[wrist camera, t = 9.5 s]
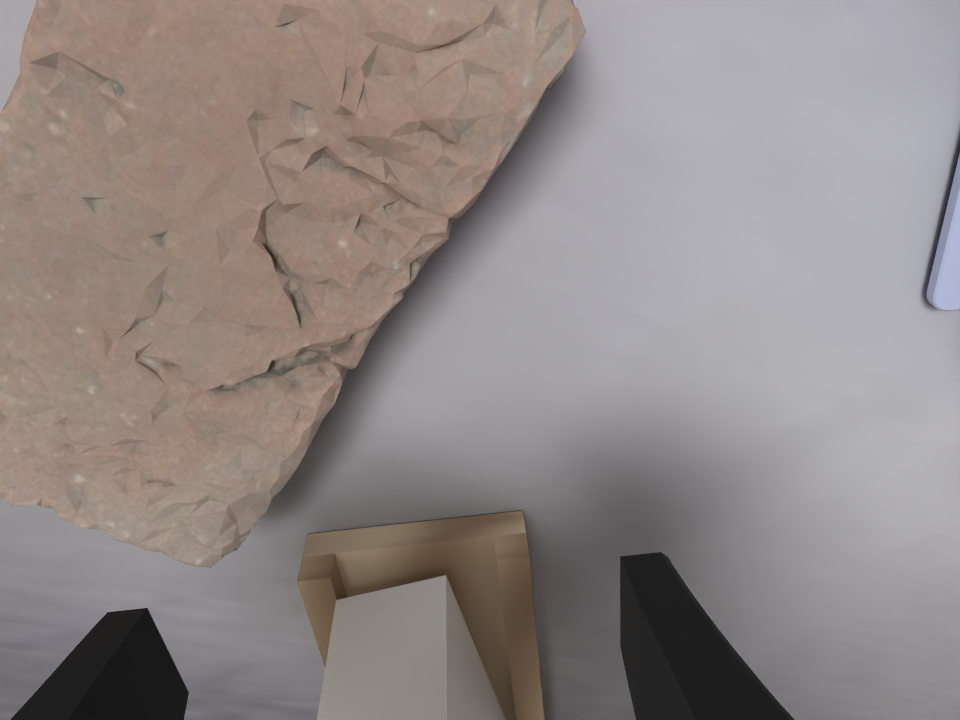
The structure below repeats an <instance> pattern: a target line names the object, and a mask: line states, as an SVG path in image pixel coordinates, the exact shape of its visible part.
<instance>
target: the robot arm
mask: <svg viewBox="0 0 960 720" xmlns="http://www.w3.org/2000/svg"><path fill="white" fill-rule="evenodd" d="M927 299H928V301H929V303H930V304H932V305H933V306H934V307H936V308H938V309H939V310H942V311H951V310H960V154H959V158H958V163H957V167H956V171H955V175H954V179H953V184H952V188H951V192H950V196H949V200H948V205H947V209H946V213H945V217H944V221H943V226H942V230H941V234H940V238H939V242H938V247H937V251H936V255H935V259H934V263H933V268H932V272H931V276H930V280H929V284H928V289H927ZM620 609H621V651H622V656H623V660H624V665H625V670H626V675H627V680H628V684H629V689H630V694H631V698H632V703H633V707H634V712H635V716H636V719H637V720H794V719H793V718H792V717H791V716H790V714H789V713H788V712H787V711H786V710H785V709H784V708H783V707H782V706H781V704H780V703H779V702H778V701H777V700H776V699H775V698H774V696H773V695H772V694H771V693H770V692H769V691H768V689H767V688H766V687H765V686H764V685H763V684H762V682H761V681H760V680H759V679H758V678H757V676H756V675H755V674H754V673H753V672H752V670H751V669H750V668H749V667H748V665H747V664H746V663H745V662H744V661H743V659H742V658H741V657H740V656H739V655H738V653H737V652H736V651H735V650H734V648H733V647H732V646H731V645H730V643H729V642H728V641H727V640H726V638H725V637H724V636H723V635H722V633H721V632H720V631H719V629H718V628H717V627H716V625H715V624H714V623H713V621H712V620H711V619H710V617H709V616H708V615H707V613H706V612H705V611H704V609H703V608H702V607H701V605H700V604H699V603H698V601H697V600H696V598H695V597H694V596H693V594H692V593H691V591H690V590H689V589H688V587H687V586H686V584H685V583H684V581H683V580H682V578H681V577H680V575H679V574H678V572H677V571H676V569H675V568H674V566H673V565H672V563H671V562H670V560H669V558H668V557H667V556H665V555H664V554H663V553H661V552H658V553H649V554H640V555H631V556H622V557H620ZM188 694H189V692H188V690H187V688H186V686H185V684H184V682H183V680H182V678H181V676H180V674H179V672H178V670H177V668H176V666H175V664H174V662H173V660H172V657H171V655H170V653H169V651H168V649H167V647H166V645H165V643H164V641H163V639H162V637H161V635H160V633H159V631H158V629H157V627H156V625H155V623H154V621H153V619H152V617H151V615H150V613H149V611H148V609H147V608H143V609H134V610H125V611H116V612H108V613H107V614H106V615H105V616H104V617H103V618H102V619H101V620H100V621H99V622H98V623H97V624H96V625H95V626H94V628H93V629H92V630H91V631H90V632H89V633H88V634H87V635H86V636H85V637H84V639H83V640H82V641H81V642H80V643H79V644H78V645H77V646H76V648H75V649H74V650H73V651H72V652H71V653H70V654H69V655H68V656H67V658H66V659H65V660H64V661H63V662H62V663H61V664H60V665H59V667H58V668H57V669H56V670H55V671H54V672H53V673H52V674H51V676H50V677H49V678H48V679H47V680H46V681H45V682H44V683H43V685H42V686H41V687H40V688H39V689H38V690H37V691H36V692H35V693H34V695H33V696H32V697H31V698H30V699H29V700H28V701H27V702H26V703H25V704H24V706H23V707H22V708H21V709H20V710H19V711H18V712H17V713H16V714H15V715H14V717H13V718H12V719H11V720H184V715H185V710H186V704H187V699H188Z"/></svg>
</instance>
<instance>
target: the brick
mask: <svg viewBox="0 0 960 720" xmlns="http://www.w3.org/2000/svg"><path fill="white" fill-rule="evenodd" d="M585 32H586V31H585V28H584V25H583V22H582V19H581V16H580V14H579V11H578V8H577V7H576V6H575V5H574V3H573V0H37V1H36V6H35V8H34V11H33V14H32V16H31V19H30V22H29V24H28V27H27V30H26V32H25V35H24V40H23V46H22V51H21V57H20V75H19V77H18V79H17V81H16V83H15V85H14V87H13V90H12V92H11V94H10V96H9V98H8V100H7V102H6V104H5V106H4V108H3V110H2V112H1V114H0V497H1V498H3V499H5V500H6V501H7V502H8V503H10V504H11V505H29V504H37V505H40V506H43V507H47V508H51V509H53V510H54V511H55V512H56V513H57V515H58V516H59V517H60V518H62V519H64V520H66V521H69V522H71V523H73V524H75V525H78V526H80V527H82V528H91V529H100V530H104V531H108V532H109V533H110V534H111V535H112V536H113V537H114V538H115V539H116V540H118V541H122V542H125V543H129V544H132V545H134V546H137V547H139V548H142V549H144V550H147V551H155V552H161V553H163V554H165V555H167V556H170V557H172V558H174V559H176V560H178V561H180V562H182V563H184V564H187V565H195V566H202V567H210V568H211V567H212V566H213V565H214V564H216V563H217V562H218V561H219V560H220V559H221V558H222V557H223V556H225V555H227V554H229V553H231V552H233V551H235V550H237V549H238V548H239V547H240V545H241V544H242V543H243V541H244V540H245V539H246V537H247V536H248V534H249V532H250V530H251V528H252V527H253V525H254V524H255V523H256V522H257V520H258V519H259V518H260V517H261V516H262V515H263V514H264V513H265V512H266V511H267V510H268V509H269V507H270V505H271V503H272V501H273V499H274V497H275V496H276V495H277V494H278V493H279V492H280V491H281V490H282V489H283V487H284V486H285V485H286V483H287V482H288V481H289V479H290V478H291V476H292V475H293V474H294V472H295V471H296V470H297V468H298V466H299V464H300V463H301V461H302V459H303V457H304V456H305V454H306V452H307V450H308V448H309V447H310V445H311V443H312V441H313V439H314V437H315V435H316V433H317V431H318V429H319V427H320V425H321V423H322V421H323V419H324V418H325V417H326V415H327V414H328V412H329V411H330V410H331V408H332V407H333V406H334V405H335V403H336V400H337V397H338V395H339V392H340V389H341V386H342V384H343V381H344V378H345V376H346V373H347V371H348V369H354V368H356V367H357V365H358V363H359V361H360V360H361V358H362V356H363V354H364V352H365V350H366V348H367V346H368V344H369V342H370V340H371V338H372V337H373V335H374V334H375V333H376V332H377V330H378V329H379V326H380V324H381V322H382V321H383V319H384V318H385V317H386V316H387V315H388V314H389V313H390V312H391V311H392V309H393V308H394V307H395V306H396V305H397V304H398V303H399V302H400V301H401V300H402V299H403V293H404V292H405V291H406V290H407V289H408V288H409V287H410V286H411V284H412V283H413V281H414V280H415V278H416V277H417V275H418V274H419V272H420V271H421V269H422V268H423V266H424V265H425V263H426V262H427V260H428V258H429V256H430V255H431V254H432V253H433V252H435V251H436V250H437V249H438V248H439V247H440V246H441V245H442V244H443V243H444V242H446V241H447V240H448V239H449V235H450V230H451V225H452V223H453V222H454V221H456V220H457V219H459V218H460V217H461V216H462V215H463V214H464V213H465V212H466V211H467V210H468V209H469V208H470V207H471V206H473V205H474V203H475V201H476V200H477V198H478V197H479V195H480V193H481V192H482V190H483V189H484V187H485V185H486V184H487V182H488V181H489V179H490V178H491V177H492V175H493V174H494V172H495V171H496V170H497V168H498V167H499V165H500V164H501V163H502V161H503V160H504V158H505V157H506V156H507V154H508V153H509V152H510V150H511V149H512V148H513V146H514V145H515V143H516V142H517V141H518V139H519V138H520V136H521V134H522V133H523V131H524V130H525V128H526V127H527V125H528V123H529V122H530V120H531V119H532V117H533V116H534V114H535V112H536V110H537V108H538V106H539V103H540V101H541V99H542V97H543V95H544V93H545V91H546V89H551V88H552V86H553V85H554V84H555V82H556V81H557V80H558V78H559V77H560V75H561V74H562V72H563V71H564V69H565V67H566V66H567V64H568V62H569V61H570V59H571V57H572V55H573V54H574V52H575V50H576V48H577V47H578V45H579V43H580V41H581V39H582V38H583V36H584V34H585Z"/></svg>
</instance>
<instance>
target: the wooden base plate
mask: <svg viewBox="0 0 960 720" xmlns="http://www.w3.org/2000/svg"><path fill="white" fill-rule="evenodd" d="M444 575H446V577H447V579H448V581H449V584H450V586H451V589H452V591H453V594H454V596H455V598H456V601H457V603H458V606H459V608H460V610H461V613H462V615H463V618H464V620H465V622H466V625H467V627H468V630H469V632H470V635H471V637H472V639H473V642H474V644H475V647H476V649H477V651H478V654H479V656H480V659H481V661H482V663H483V666H484V668H485V671H486V673H487V675H488V678H489V680H490V683H491V685H492V688H493V690H494V692H495V695H496V697H497V700H498V702H499V704H500V707H501V709H502V712H503V714H504V716H505V719H506V720H544V710H543V699H542V688H541V677H540V666H539V655H538V644H537V633H536V622H535V611H534V600H533V589H532V578H531V567H530V556H529V549H528V542H527V535H526V528H525V522H524V515H523V511H514V512H505V513H496V514H487V515H478V516H468V517H459V518H450V519H441V520H432V521H423V522H414V523H404V524H395V525H386V526H377V527H368V528H359V529H350V530H340V531H331V532H322V533H313V534H308V536H307V540H306V545H305V549H304V554H303V558H302V563H301V567H300V572H299V576H298V581H297V582H298V585H299V589H300V592H301V595H302V598H303V601H304V604H305V607H306V610H307V613H308V616H309V619H310V622H311V625H312V628H313V631H314V634H315V637H316V640H317V644H318V647H319V650H320V653H321V656H322V659H323V662H324V665H325V667H326V661H327V654H328V648H329V642H330V635H331V629H332V623H333V617H334V610H335V604H336V600H339V599H344V598H348V597H352V596H357V595H361V594H366V593H370V592H374V591H379V590H383V589H387V588H392V587H396V586H401V585H405V584H409V583H414V582H418V581H422V580H427V579H431V578H436V577H440V576H444Z"/></svg>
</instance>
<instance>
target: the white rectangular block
mask: <svg viewBox="0 0 960 720" xmlns="http://www.w3.org/2000/svg"><path fill="white" fill-rule="evenodd" d="M317 720H506V719H505V716H504V714H503V712H502V709H501V707H500V704H499V702H498V700H497V697H496V695H495V692H494V690H493V688H492V685H491V683H490V680H489V678H488V675H487V673H486V671H485V668H484V666H483V663H482V661H481V659H480V656H479V654H478V651H477V649H476V647H475V644H474V642H473V639H472V637H471V635H470V632H469V630H468V627H467V625H466V622H465V620H464V618H463V615H462V613H461V610H460V608H459V606H458V603H457V601H456V598H455V596H454V594H453V591H452V589H451V586H450V584H449V581H448V579H447V577H446V575H444V576H440V577H436V578H431V579H427V580H422V581H418V582H414V583H409V584H405V585H401V586H396V587H392V588H387V589H383V590H379V591H374V592H370V593H366V594H361V595H357V596H352V597H348V598H344V599H339V600H336V604H335V610H334V617H333V623H332V629H331V635H330V642H329V648H328V654H327V661H326V667H325V673H324V680H323V686H322V692H321V698H320V705H319V711H318V717H317Z"/></svg>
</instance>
